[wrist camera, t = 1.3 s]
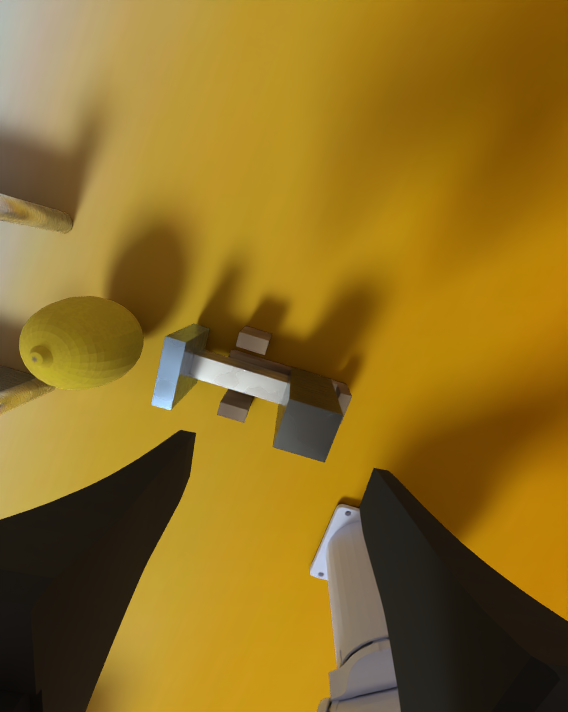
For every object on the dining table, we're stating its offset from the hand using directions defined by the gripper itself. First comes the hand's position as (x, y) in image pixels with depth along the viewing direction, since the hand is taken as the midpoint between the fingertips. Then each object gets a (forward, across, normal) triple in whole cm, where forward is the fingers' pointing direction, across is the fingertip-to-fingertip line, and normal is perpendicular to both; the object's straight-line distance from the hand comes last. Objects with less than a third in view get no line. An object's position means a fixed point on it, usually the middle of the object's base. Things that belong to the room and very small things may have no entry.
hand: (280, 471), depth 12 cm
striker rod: (+11, +2, 0) cm, 11 cm away
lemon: (+12, +12, 0) cm, 17 cm away
